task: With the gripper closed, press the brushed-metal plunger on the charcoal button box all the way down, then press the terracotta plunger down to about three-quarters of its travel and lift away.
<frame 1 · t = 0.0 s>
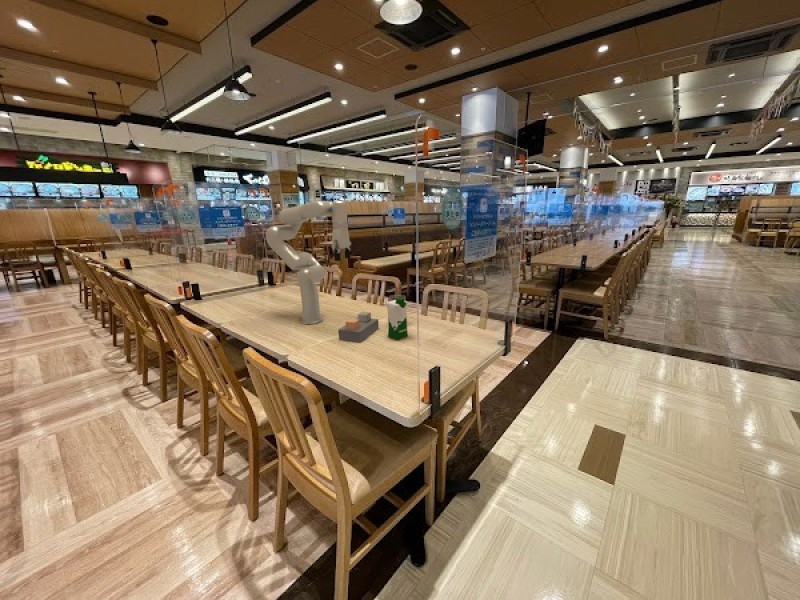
hand: (342, 259, 167), 37 cm above the table, tool pointing down, fingers open, 9 cm apart
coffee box: (397, 324, 176), on the table
terracotta plunger: (352, 325, 156), point 7 cm above the table, slide at 0.0 cm
button box: (359, 334, 163), on the table
metal plunger: (364, 317, 167), point 7 cm above the table, slide at 0.0 cm
milk carton: (397, 337, 159), on the table
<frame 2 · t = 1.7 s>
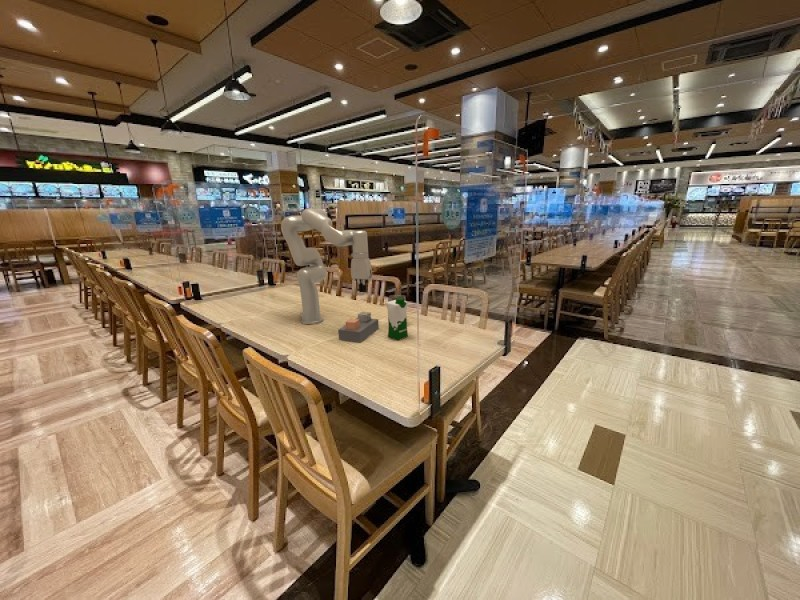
hand: (362, 291, 163), 21 cm above the table, tool pointing down, fingers closed
nothing on the table moved.
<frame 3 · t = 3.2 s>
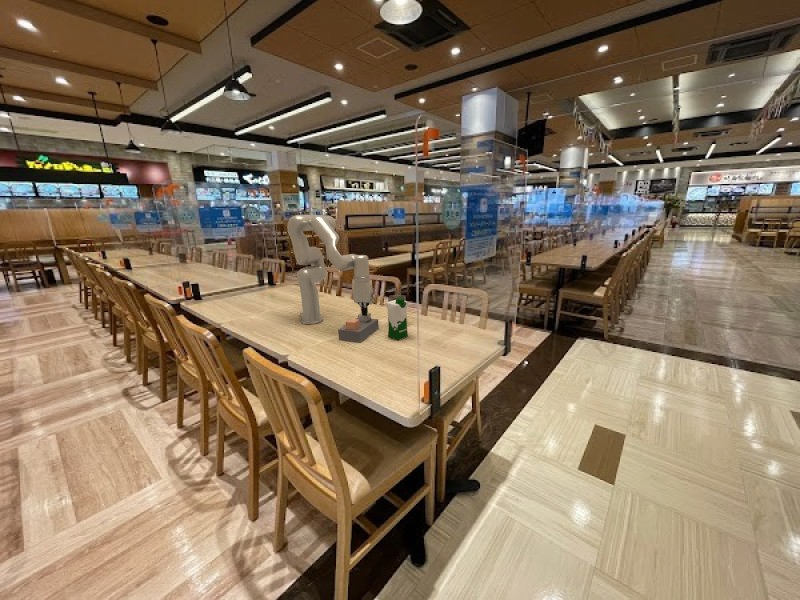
hand: (364, 314, 166), 9 cm above the table, tool pointing down, fingers closed
metal plunger: (364, 318, 167), point 7 cm above the table, slide at 0.4 cm, touching gripper
everything else where it was.
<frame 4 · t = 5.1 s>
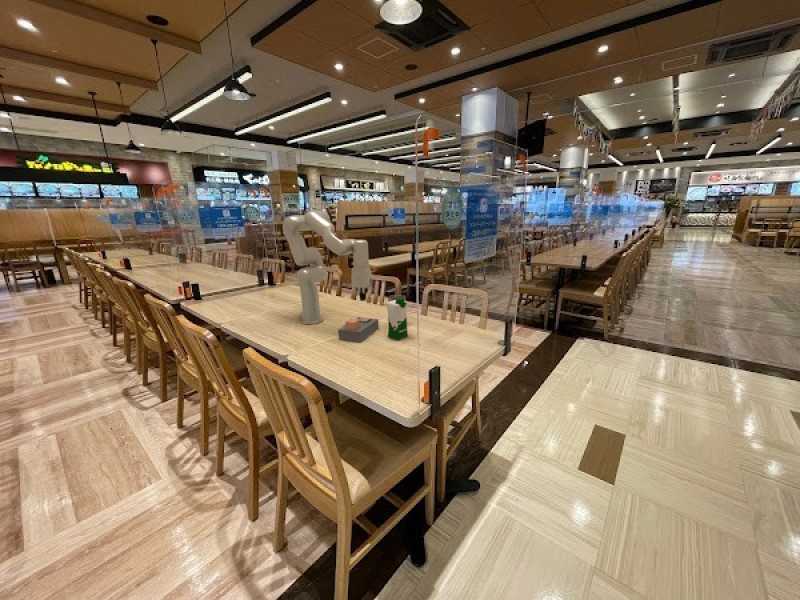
hand: (363, 300, 164), 17 cm above the table, tool pointing down, fingers closed
metal plunger: (364, 323, 168), point 4 cm above the table, slide at 3.2 cm
everything else where it was.
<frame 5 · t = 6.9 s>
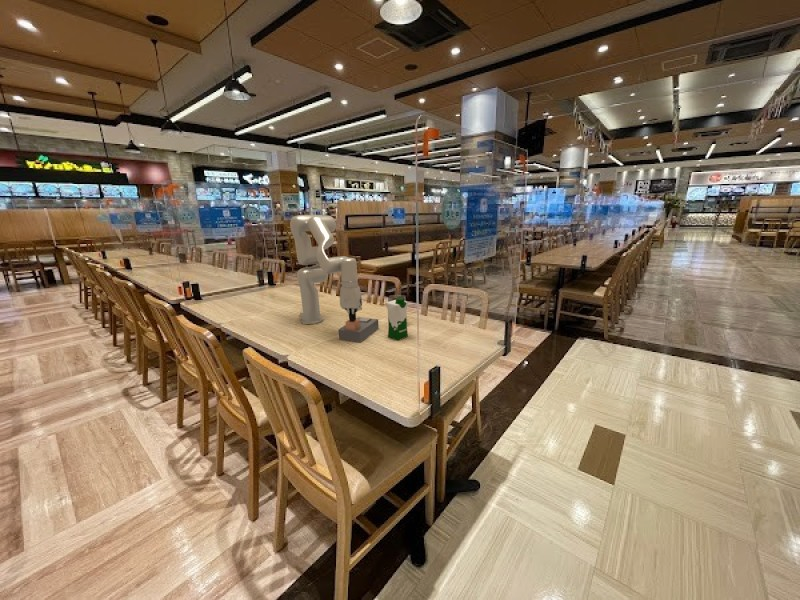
hand: (352, 320, 155), 9 cm above the table, tool pointing down, fingers closed
terracotta plunger: (352, 325, 156), point 7 cm above the table, slide at 0.2 cm, touching gripper
everything else where it was.
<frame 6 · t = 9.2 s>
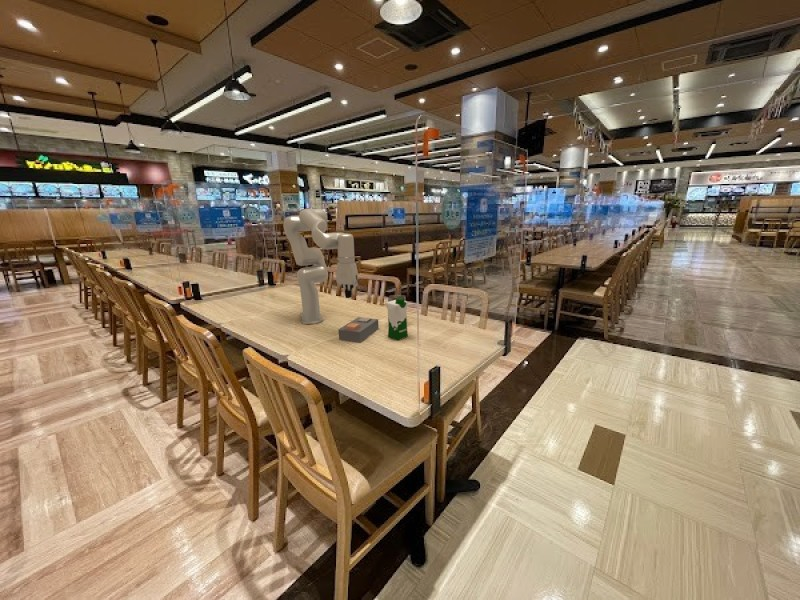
hand: (348, 297, 156), 20 cm above the table, tool pointing down, fingers closed
terracotta plunger: (353, 329, 157), point 5 cm above the table, slide at 2.3 cm
everything else where it was.
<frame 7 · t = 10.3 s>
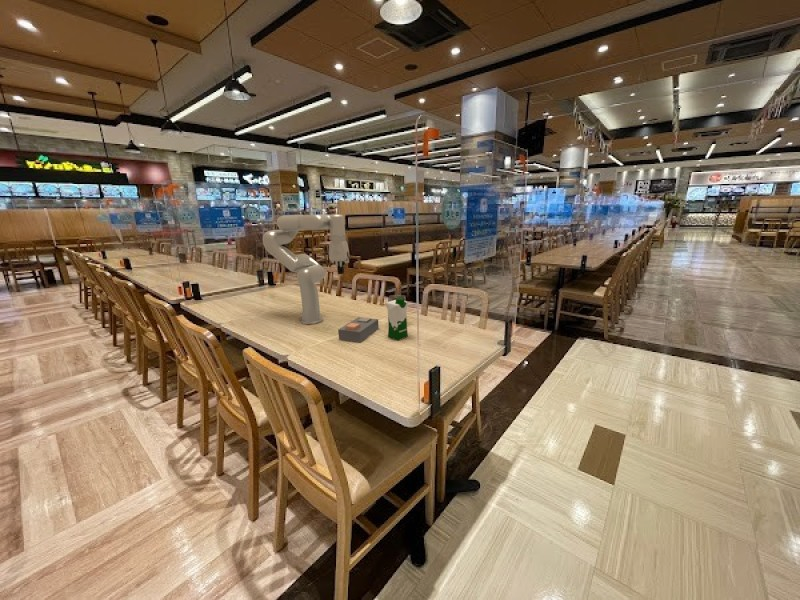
hand: (340, 273, 170), 29 cm above the table, tool pointing down, fingers closed
nothing on the table moved.
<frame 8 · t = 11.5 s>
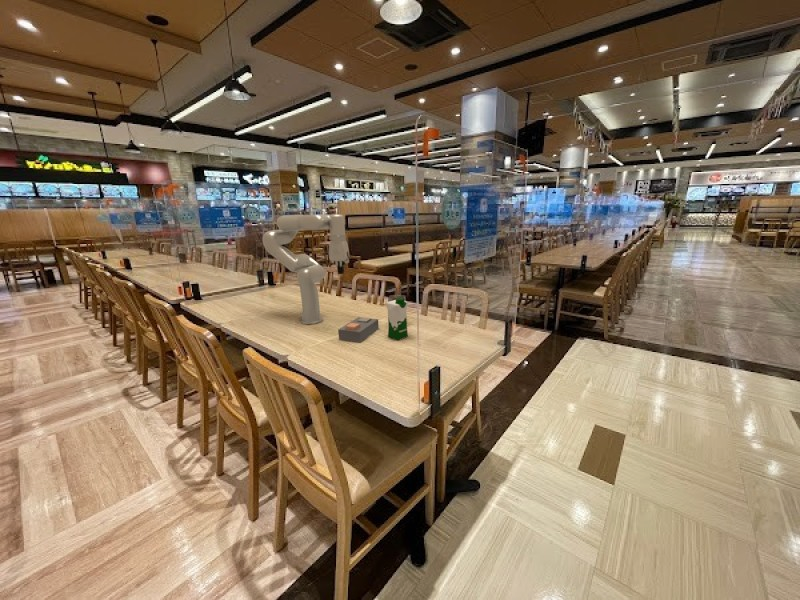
hand: (340, 273, 170), 29 cm above the table, tool pointing down, fingers closed
nothing on the table moved.
at the end: metal plunger slide at 3.2 cm; terracotta plunger slide at 2.3 cm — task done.
